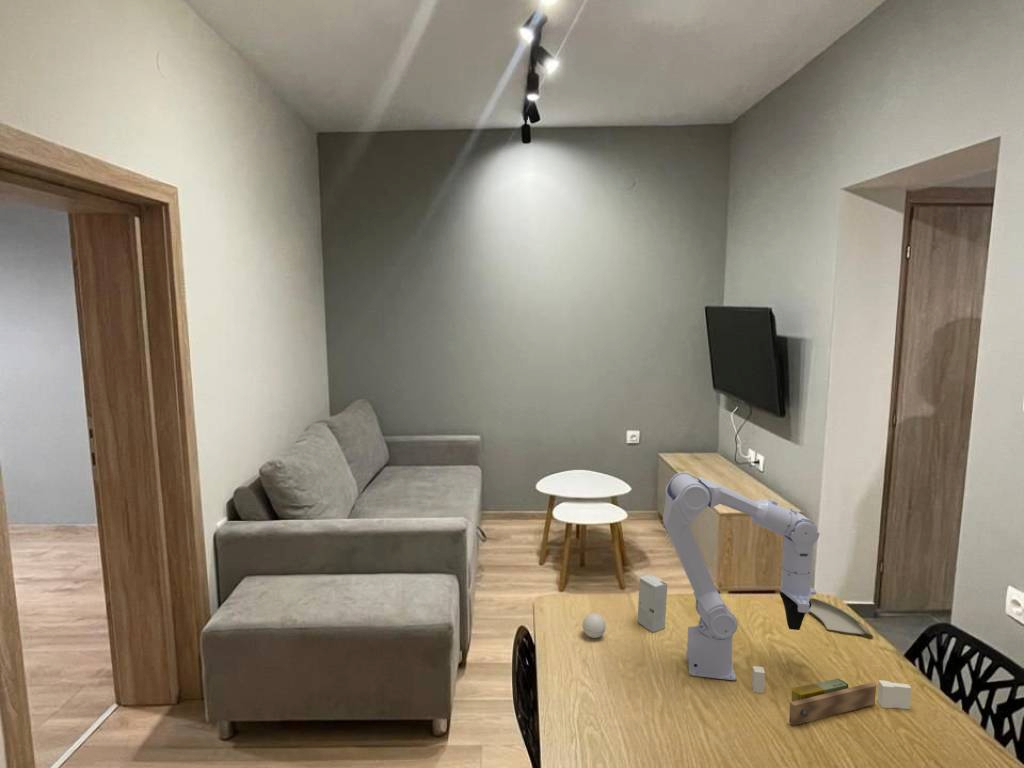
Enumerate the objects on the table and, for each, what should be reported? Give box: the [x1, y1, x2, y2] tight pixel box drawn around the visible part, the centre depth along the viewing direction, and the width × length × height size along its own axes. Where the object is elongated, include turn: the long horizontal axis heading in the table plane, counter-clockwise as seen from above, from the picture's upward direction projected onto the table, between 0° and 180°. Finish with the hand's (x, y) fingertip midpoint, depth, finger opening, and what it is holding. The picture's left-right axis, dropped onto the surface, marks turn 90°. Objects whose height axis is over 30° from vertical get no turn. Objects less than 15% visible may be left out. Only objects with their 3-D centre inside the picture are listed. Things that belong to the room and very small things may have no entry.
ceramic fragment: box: [808, 597, 874, 639], centre depth 146 cm, size 18×7×5 cm, turn 27°
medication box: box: [791, 678, 849, 702], centre depth 115 cm, size 12×3×4 cm, turn 107°
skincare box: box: [637, 573, 668, 633], centre depth 146 cm, size 6×4×12 cm
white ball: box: [575, 612, 607, 639], centre depth 141 cm, size 8×6×6 cm
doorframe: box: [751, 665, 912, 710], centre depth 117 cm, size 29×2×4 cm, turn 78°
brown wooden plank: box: [788, 682, 877, 726], centre depth 112 cm, size 20×2×4 cm, turn 107°
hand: (793, 628), depth 127 cm, fingers closed
